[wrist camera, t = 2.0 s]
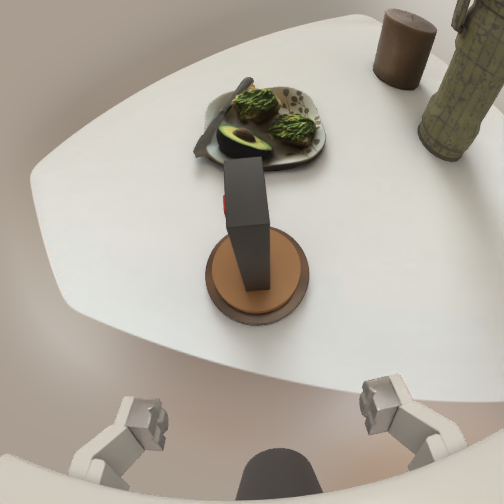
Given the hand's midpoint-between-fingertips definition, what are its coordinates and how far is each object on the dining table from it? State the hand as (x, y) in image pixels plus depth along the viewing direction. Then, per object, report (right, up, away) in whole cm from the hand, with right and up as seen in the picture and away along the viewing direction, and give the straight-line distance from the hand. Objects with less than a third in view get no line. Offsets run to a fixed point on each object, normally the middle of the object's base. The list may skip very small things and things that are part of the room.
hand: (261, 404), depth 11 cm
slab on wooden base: (0, +4, +21) cm, 21 cm away
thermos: (+30, +24, +28) cm, 48 cm away
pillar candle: (+27, +40, +35) cm, 60 cm away
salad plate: (+1, +23, +30) cm, 38 cm away
